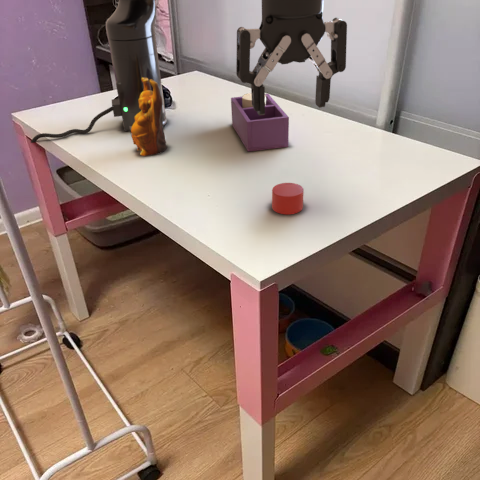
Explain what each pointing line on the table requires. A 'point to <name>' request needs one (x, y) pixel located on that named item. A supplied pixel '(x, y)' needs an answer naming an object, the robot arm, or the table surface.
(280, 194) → the cylinder
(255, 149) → the purple divided box
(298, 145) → the table surface
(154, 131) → the figurine
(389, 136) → the table surface
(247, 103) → the cream token high
